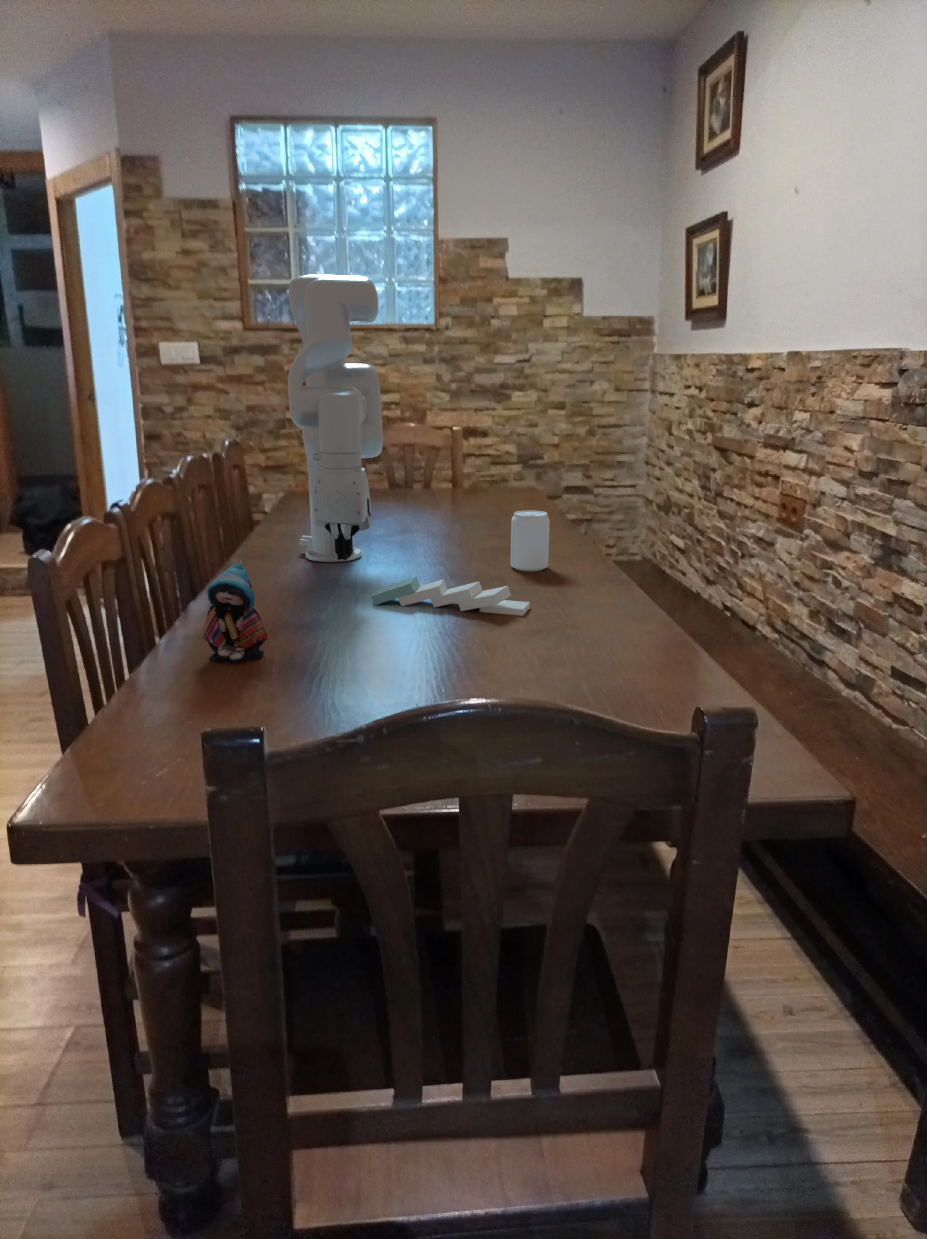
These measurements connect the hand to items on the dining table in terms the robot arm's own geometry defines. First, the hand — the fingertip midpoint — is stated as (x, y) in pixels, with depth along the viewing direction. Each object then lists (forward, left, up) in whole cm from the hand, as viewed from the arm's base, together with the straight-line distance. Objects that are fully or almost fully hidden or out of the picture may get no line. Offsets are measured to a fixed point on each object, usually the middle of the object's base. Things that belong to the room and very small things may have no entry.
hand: (344, 557), depth 164 cm
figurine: (+6, -39, -7) cm, 40 cm away
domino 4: (+25, +2, -6) cm, 26 cm away
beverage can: (+23, +36, -7) cm, 44 cm away
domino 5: (+28, +3, -7) cm, 29 cm away
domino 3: (+19, +2, -6) cm, 20 cm away
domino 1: (+8, -2, -6) cm, 10 cm away
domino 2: (+13, 0, -6) cm, 14 cm away
